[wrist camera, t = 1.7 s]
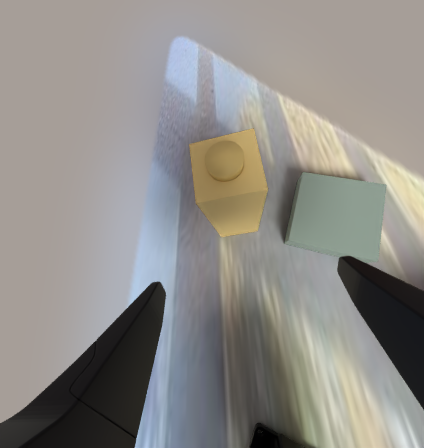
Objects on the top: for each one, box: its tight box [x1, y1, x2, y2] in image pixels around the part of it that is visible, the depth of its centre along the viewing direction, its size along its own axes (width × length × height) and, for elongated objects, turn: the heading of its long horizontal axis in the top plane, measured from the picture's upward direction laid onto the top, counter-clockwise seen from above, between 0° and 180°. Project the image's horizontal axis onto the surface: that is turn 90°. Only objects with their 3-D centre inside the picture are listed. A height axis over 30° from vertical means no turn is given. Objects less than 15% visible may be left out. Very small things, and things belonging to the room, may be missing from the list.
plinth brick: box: [284, 172, 386, 263], centre depth 20 cm, size 8×8×2 cm
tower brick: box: [189, 128, 268, 237], centre depth 17 cm, size 4×4×13 cm
